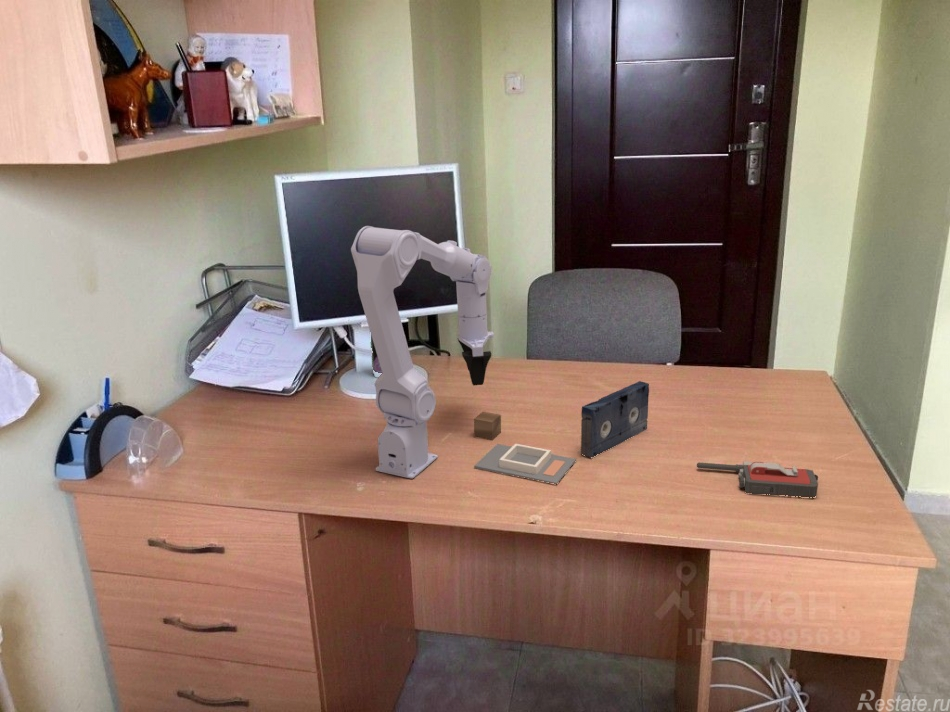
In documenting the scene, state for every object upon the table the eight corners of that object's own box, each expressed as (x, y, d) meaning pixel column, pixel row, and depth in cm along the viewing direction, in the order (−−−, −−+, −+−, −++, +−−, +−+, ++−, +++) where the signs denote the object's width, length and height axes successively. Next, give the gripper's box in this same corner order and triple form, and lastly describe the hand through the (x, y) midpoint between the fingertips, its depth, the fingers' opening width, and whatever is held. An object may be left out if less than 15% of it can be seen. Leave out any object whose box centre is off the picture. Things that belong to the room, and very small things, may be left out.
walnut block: (492, 440, 153) (492, 422, 152) (474, 437, 155) (473, 418, 153) (501, 432, 156) (500, 414, 155) (483, 429, 158) (482, 411, 157)
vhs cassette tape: (637, 426, 158) (639, 380, 155) (649, 430, 156) (652, 383, 153) (578, 454, 146) (579, 405, 143) (590, 459, 144) (591, 410, 141)
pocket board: (556, 485, 135) (556, 475, 135) (474, 468, 142) (474, 458, 141) (576, 461, 144) (576, 451, 143) (497, 446, 150) (497, 436, 150)
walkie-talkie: (814, 478, 136) (695, 469, 141) (817, 455, 135) (697, 446, 139) (824, 503, 128) (698, 492, 133) (827, 479, 127) (700, 469, 131)
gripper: (497, 323, 147) (500, 389, 152) (487, 301, 161) (490, 362, 166) (460, 326, 147) (464, 392, 151) (453, 304, 160) (457, 365, 165)
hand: (475, 377), depth 158 cm, fingers open, 7 cm apart
